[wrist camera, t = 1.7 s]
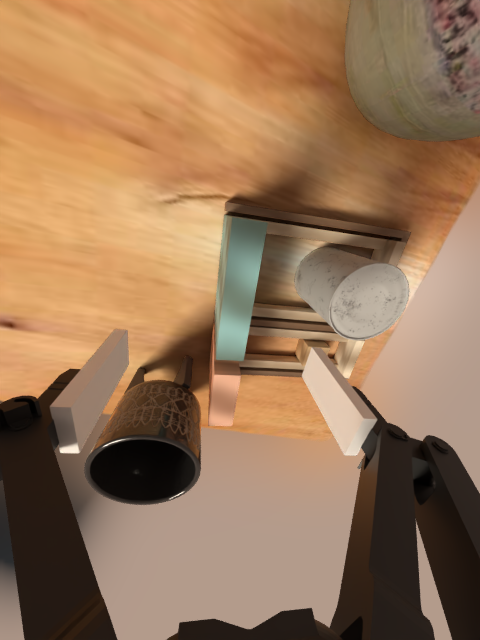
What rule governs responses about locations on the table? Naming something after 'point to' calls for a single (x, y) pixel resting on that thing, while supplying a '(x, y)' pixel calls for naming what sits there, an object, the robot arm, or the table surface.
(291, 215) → the guide frame
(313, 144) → the table surface
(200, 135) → the table surface
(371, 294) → the speckled stone cylinder
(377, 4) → the vase
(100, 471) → the planter
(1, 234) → the table surface
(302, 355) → the oak cube
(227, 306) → the can sled
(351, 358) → the cube sled
